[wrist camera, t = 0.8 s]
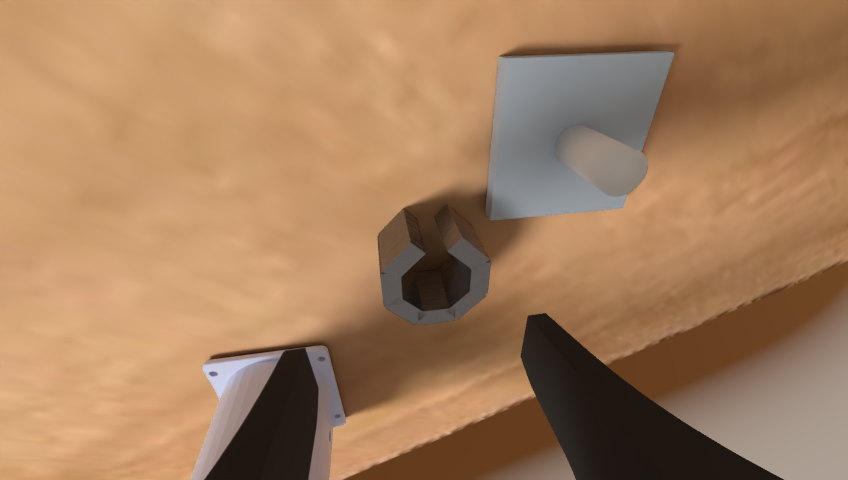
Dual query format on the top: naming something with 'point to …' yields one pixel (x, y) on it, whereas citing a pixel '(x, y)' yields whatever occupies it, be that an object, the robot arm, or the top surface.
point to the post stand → (571, 131)
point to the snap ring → (435, 289)
